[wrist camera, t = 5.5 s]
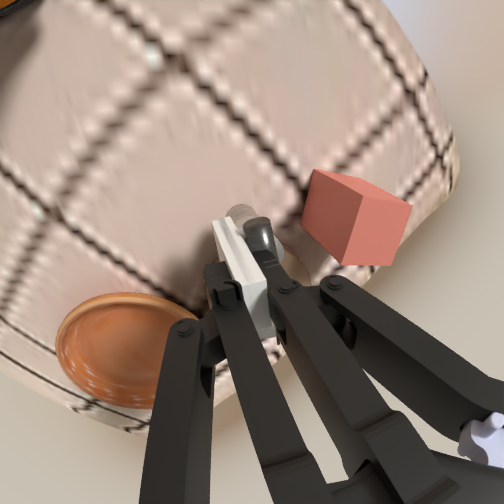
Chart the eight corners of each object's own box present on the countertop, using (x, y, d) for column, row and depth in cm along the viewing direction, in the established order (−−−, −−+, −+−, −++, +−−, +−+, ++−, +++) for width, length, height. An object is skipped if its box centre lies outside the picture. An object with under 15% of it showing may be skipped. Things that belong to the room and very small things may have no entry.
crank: (289, 309, 26) (319, 359, 21) (247, 325, 26) (269, 380, 20) (260, 181, 20) (298, 216, 14) (203, 200, 19) (220, 243, 14)
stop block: (299, 224, 26) (340, 264, 20) (313, 168, 23) (363, 195, 17) (345, 228, 27) (390, 265, 21) (360, 178, 25) (412, 205, 19)
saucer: (39, 347, 24) (34, 368, 22) (113, 244, 22) (108, 263, 19) (153, 404, 32) (155, 423, 30) (243, 333, 30) (251, 353, 28)
